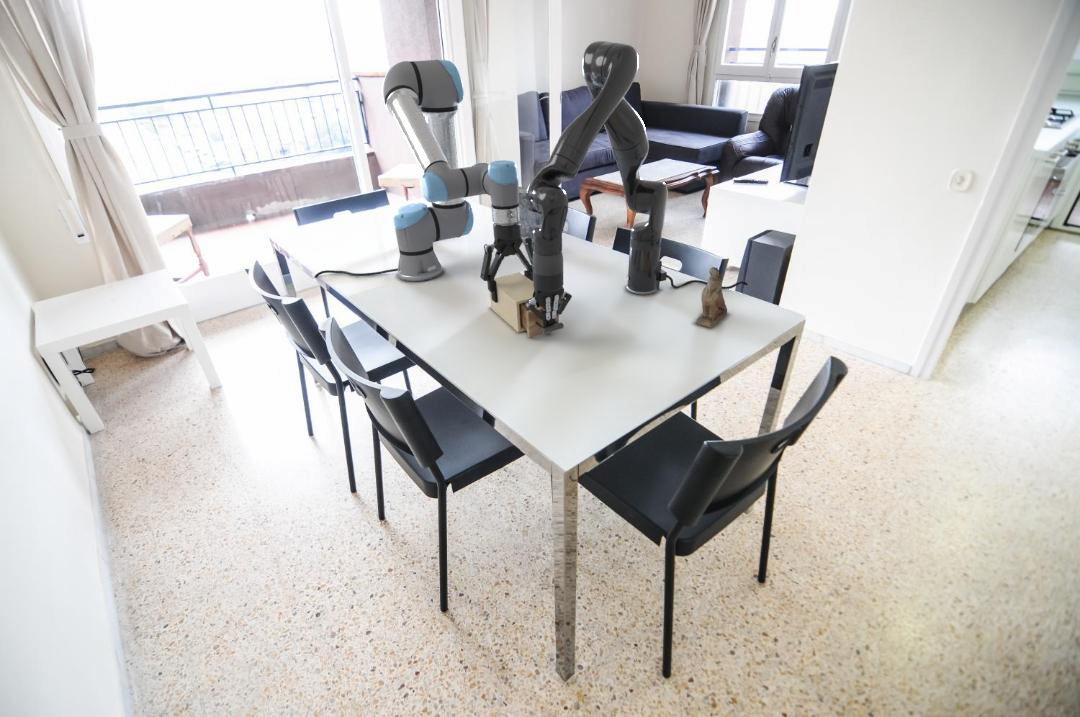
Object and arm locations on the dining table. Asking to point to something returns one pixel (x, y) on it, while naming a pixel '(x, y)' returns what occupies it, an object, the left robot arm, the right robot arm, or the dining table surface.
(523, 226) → the concrete block
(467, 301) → the dining table surface
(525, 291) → the cabinet
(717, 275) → the brown carved statuette
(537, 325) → the drawer
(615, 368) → the dining table surface
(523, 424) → the dining table surface
